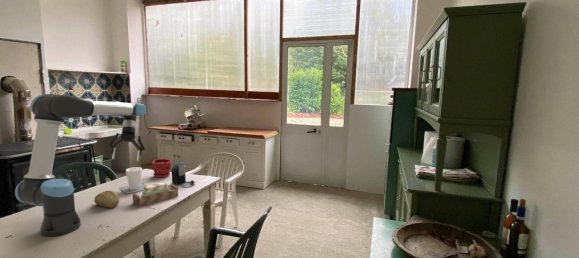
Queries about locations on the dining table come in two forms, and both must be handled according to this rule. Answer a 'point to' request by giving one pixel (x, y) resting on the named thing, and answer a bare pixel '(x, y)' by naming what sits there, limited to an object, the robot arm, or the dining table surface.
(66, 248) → the dining table surface
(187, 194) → the dining table surface
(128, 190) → the slate mat
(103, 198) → the bread roll
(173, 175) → the milk frother
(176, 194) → the offcut rack
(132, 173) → the foam cup
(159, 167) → the plant pot
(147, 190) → the short birch offcut
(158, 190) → the sage painted offcut
